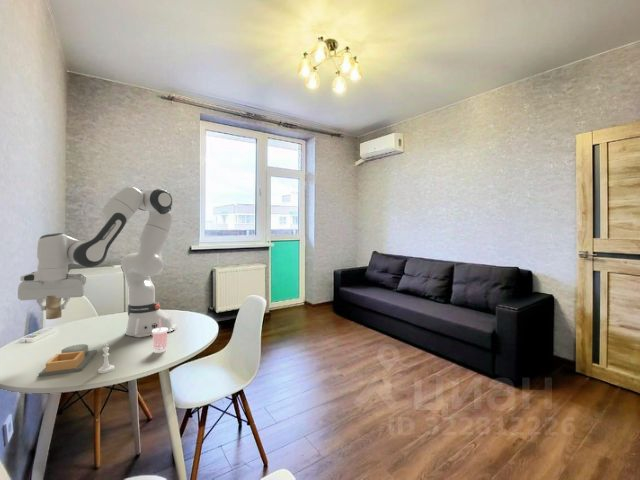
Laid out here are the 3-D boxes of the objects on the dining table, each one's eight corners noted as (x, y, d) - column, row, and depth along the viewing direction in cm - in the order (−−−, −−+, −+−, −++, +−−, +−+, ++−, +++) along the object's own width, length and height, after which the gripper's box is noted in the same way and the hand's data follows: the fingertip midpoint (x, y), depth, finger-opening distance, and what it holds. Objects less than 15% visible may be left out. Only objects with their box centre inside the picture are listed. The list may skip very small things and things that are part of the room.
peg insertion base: (96, 352, 121) (96, 342, 121) (81, 370, 105) (81, 359, 105) (60, 356, 116) (60, 346, 116) (38, 376, 100) (38, 365, 100)
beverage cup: (165, 353, 121) (165, 319, 120) (149, 354, 120) (149, 320, 119) (170, 347, 127) (170, 315, 126) (155, 348, 126) (155, 316, 125)
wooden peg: (63, 315, 117) (63, 293, 117) (58, 318, 113) (58, 295, 113) (49, 316, 116) (49, 294, 115) (43, 319, 112) (43, 296, 111)
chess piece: (103, 367, 108) (103, 340, 108) (117, 366, 108) (117, 340, 108) (94, 373, 103) (93, 345, 103) (109, 373, 104) (108, 345, 103)
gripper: (88, 272, 121) (89, 305, 121) (24, 274, 113) (25, 309, 114) (82, 274, 115) (83, 309, 115) (14, 277, 107) (15, 314, 108)
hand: (53, 309), depth 114 cm, fingers closed on wooden peg, 4 cm apart
